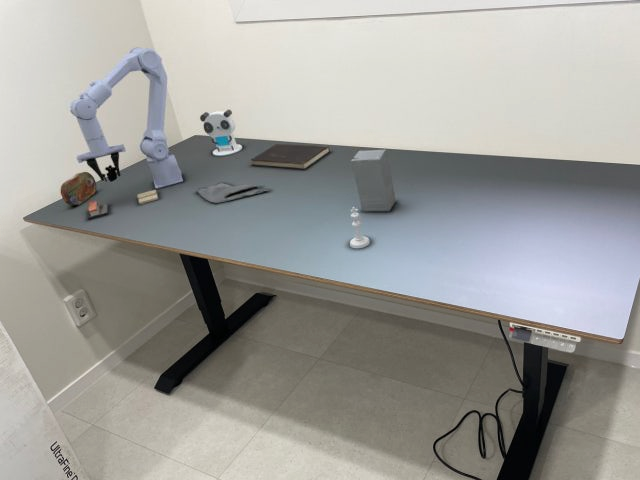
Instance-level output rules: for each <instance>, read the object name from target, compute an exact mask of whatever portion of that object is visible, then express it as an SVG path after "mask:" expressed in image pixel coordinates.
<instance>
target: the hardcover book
mask: <svg viewBox="0 0 640 480" xmlns="http://www.w3.org/2000/svg"><path fill="white" fill-rule="evenodd" d="M330 151H331V150H330V147H329V146H325V145H307V144H289V143H288V144H287V143H275V144H274V145H272V146H270V147H269V148H267V149H265V150H264V151H262V152H260V153H259V154H257V155H256V156H254V157H253V158H251V159H250V161H252V164H251V166H252V167H253V166H254V167H265V168H266V167H267V168H278V169H290V170H291V169H292V170H303V171H306V170H307V169H308V168H309V167H311V166H312V165H314V164H315V163H317V162H319V161H320V160H321V159H323V158H324V157H325V156H327V155H328V154H330Z"/></svg>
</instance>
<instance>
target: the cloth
mask: <svg viewBox="0 0 640 480" xmlns="http://www.w3.org/2000/svg"><path fill="white" fill-rule="evenodd" d="M195 191H196V193H197V194H198V195H199V196H200V197H202V198H203V199H204V200H206V201H207V202H210V203H214V204H220V203H224V202H229V201H234V200H239V199H241V198H246V197H249V196H254V195H259V194H261V193H266V192H269V191H270V190H269V189H264V188H261V186H258V185H256V184H255V185H254V184H241V185H234V186H233V185H230V184H227V183H222V182H220V183H218V184H215V185H211V186H207V187H206V188H204V187H203V188H202V187H201V188H200V189H196V190H195Z"/></svg>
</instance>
